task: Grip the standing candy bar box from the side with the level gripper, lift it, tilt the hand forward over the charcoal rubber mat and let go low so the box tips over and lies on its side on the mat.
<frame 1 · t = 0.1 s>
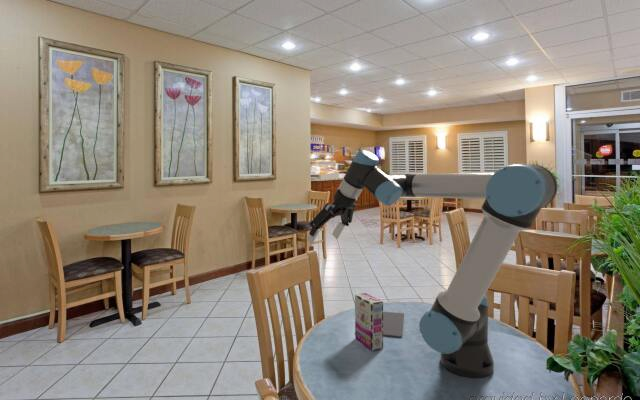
hand: (322, 238, 132), 36 cm above the table, tool tilted 35°, fingers open, 13 cm apart
charcoal mat: (381, 323, 143), on the table
candy bar box: (369, 344, 126), on the table
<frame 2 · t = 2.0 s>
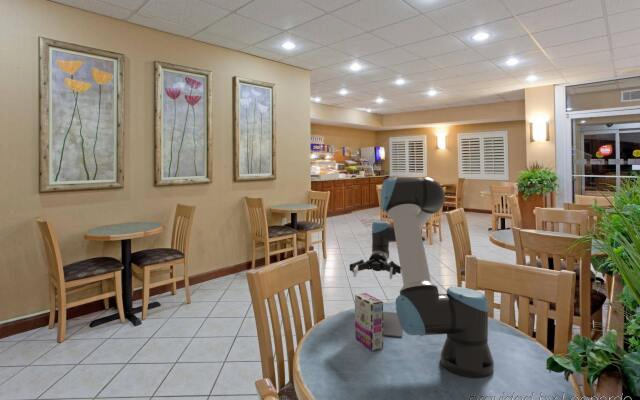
hand: (372, 274, 136), 21 cm above the table, tool horizontal, fingers open, 13 cm apart
nothing on the table moved.
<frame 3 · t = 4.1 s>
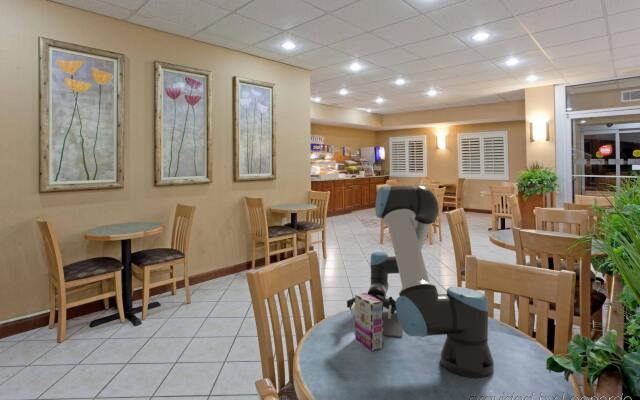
hand: (370, 313, 132), 8 cm above the table, tool horizontal, fingers open, 13 cm apart
nothing on the table moved.
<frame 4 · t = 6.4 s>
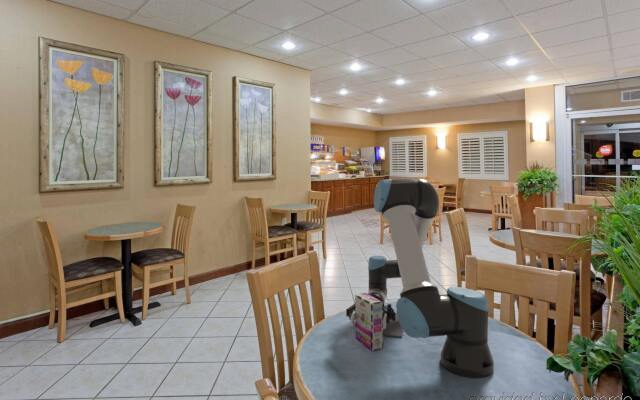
hand: (367, 323, 123), 9 cm above the table, tool horizontal, fingers closed on candy bar box, 10 cm apart
candy bar box: (369, 344, 126), on the table, touching gripper
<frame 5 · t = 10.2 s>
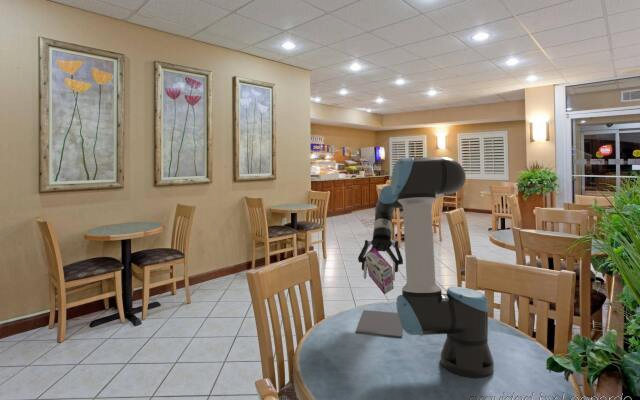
hand: (379, 278, 140), 19 cm above the table, tool tilted 45°, fingers closed on candy bar box, 10 cm apart
candy bar box: (381, 281, 148), point 15 cm above the table, touching gripper
when the fingers open (10 cm above the table, at t = 13.0 s): candy bar box moves 5 cm, resting on charcoal mat.
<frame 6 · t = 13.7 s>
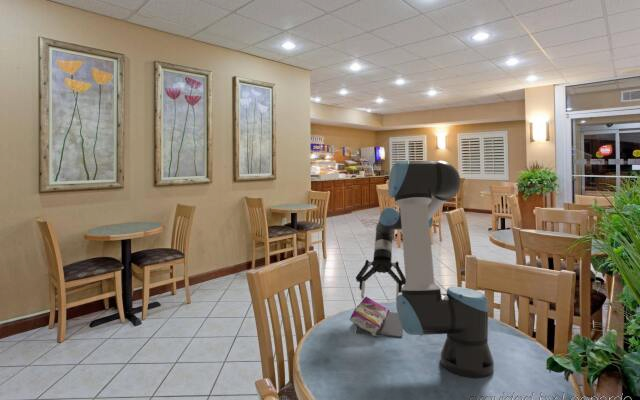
hand: (379, 298, 142), 10 cm above the table, tool tilted 45°, fingers open, 13 cm apart
candy bar box: (375, 307, 147), point 5 cm above the table, touching charcoal mat, gripper
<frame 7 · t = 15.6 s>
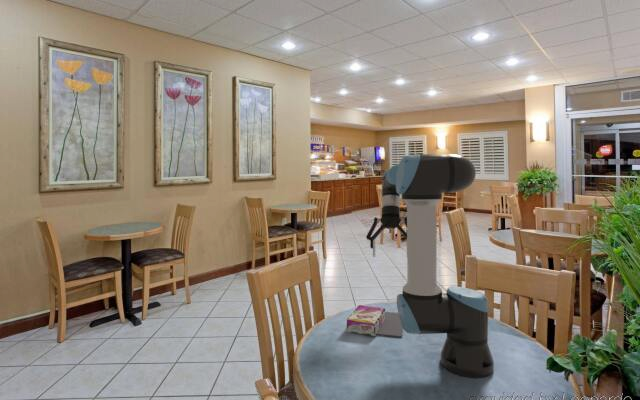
hand: (390, 256, 148), 25 cm above the table, tool tilted 20°, fingers open, 13 cm apart
candy bar box: (371, 311, 147), point 3 cm above the table, touching charcoal mat
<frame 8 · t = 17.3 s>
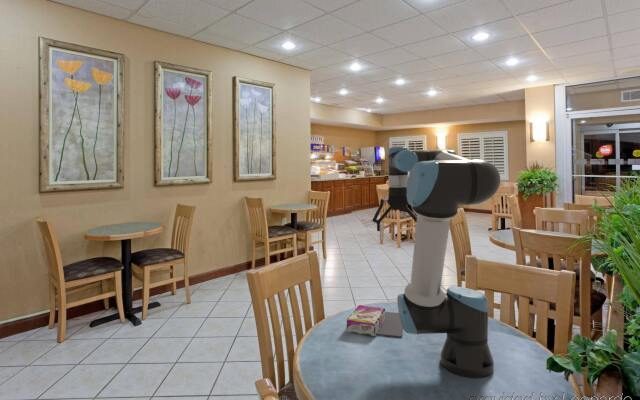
hand: (398, 240, 144), 33 cm above the table, tool pointing down, fingers open, 13 cm apart
nothing on the table moved.
at the end: candy bar box tilted 91°; candy bar box inside the target area on the charcoal mat (4.5 cm from its centre), point 3.1 cm above the charcoal mat's base; the gripper is holding nothing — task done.
